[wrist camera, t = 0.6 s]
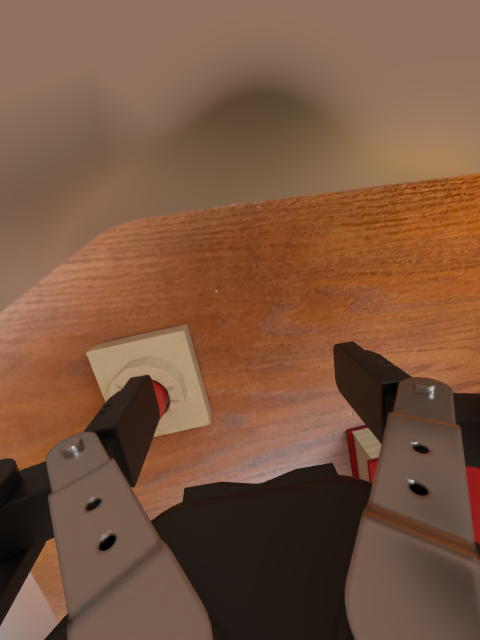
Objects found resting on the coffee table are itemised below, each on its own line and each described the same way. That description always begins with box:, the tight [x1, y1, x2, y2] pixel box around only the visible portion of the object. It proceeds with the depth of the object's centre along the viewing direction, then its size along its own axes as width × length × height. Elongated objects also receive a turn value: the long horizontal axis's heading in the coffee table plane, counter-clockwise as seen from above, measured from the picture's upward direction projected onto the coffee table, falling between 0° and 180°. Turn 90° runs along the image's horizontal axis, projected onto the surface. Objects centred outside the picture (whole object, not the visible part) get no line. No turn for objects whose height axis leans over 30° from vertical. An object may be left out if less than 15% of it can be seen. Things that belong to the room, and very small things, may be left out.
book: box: [346, 425, 480, 543], centre depth 30 cm, size 18×13×5 cm
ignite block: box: [86, 324, 211, 437], centre depth 26 cm, size 10×9×4 cm
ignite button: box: [152, 381, 167, 421], centre depth 23 cm, size 4×4×2 cm
